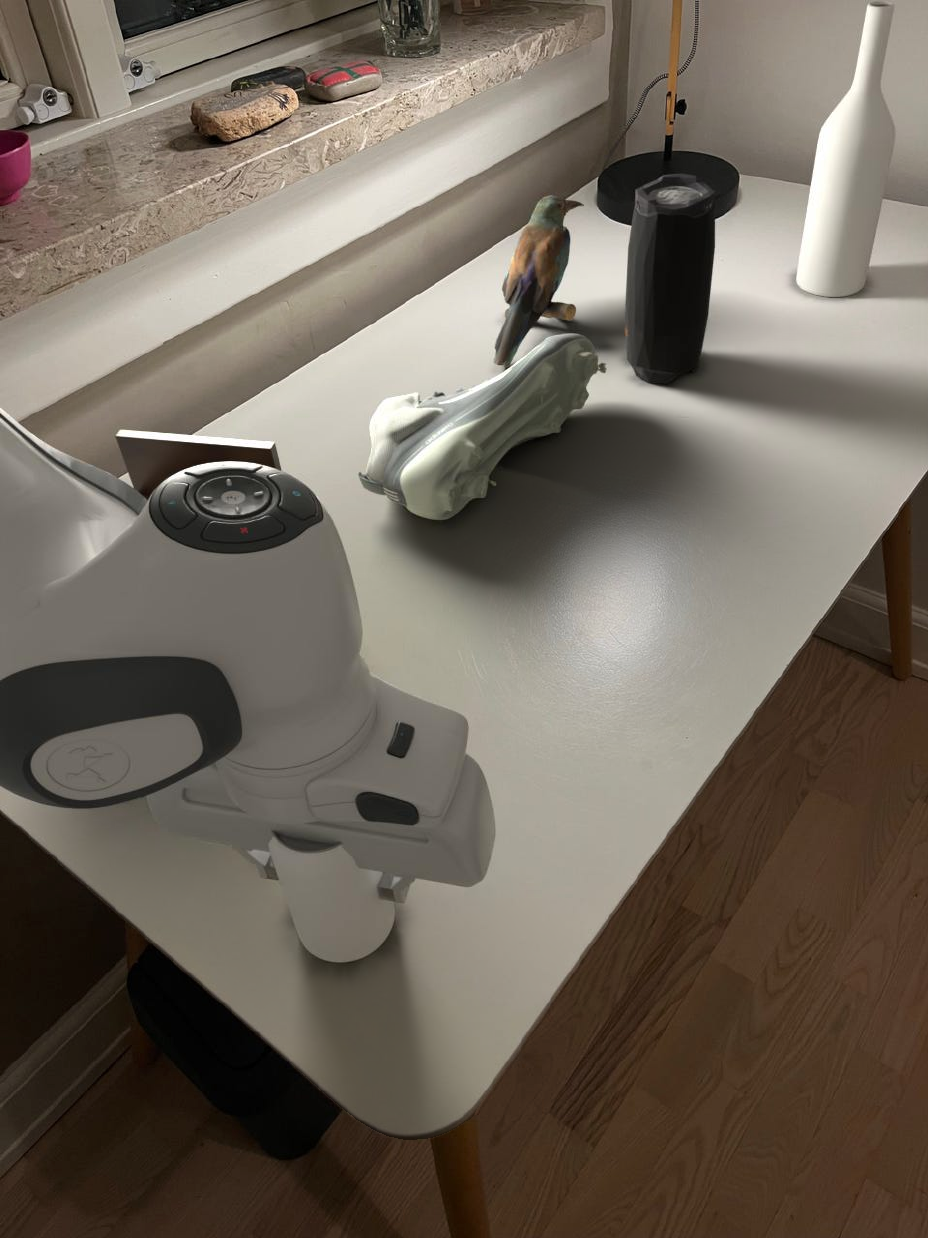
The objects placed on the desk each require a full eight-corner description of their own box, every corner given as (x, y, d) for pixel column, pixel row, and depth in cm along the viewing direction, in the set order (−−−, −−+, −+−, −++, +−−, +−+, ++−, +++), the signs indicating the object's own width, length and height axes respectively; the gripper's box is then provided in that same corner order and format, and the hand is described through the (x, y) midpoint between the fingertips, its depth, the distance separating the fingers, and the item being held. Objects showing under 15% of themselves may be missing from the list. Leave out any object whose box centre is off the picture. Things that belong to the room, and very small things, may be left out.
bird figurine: (545, 374, 113) (576, 180, 108) (464, 361, 117) (491, 173, 112) (582, 379, 125) (612, 204, 120) (508, 367, 129) (534, 197, 124)
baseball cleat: (619, 316, 103) (494, 281, 110) (443, 456, 87) (310, 405, 94) (615, 403, 110) (497, 366, 117) (451, 549, 94) (326, 495, 101)
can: (416, 915, 67) (396, 805, 59) (343, 986, 64) (311, 880, 55) (349, 859, 70) (322, 748, 62) (276, 924, 67) (237, 815, 59)
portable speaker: (616, 384, 112) (622, 204, 99) (633, 342, 118) (640, 168, 105) (696, 391, 110) (713, 209, 96) (708, 348, 116) (725, 171, 103)
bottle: (873, 274, 126) (932, -5, 106) (853, 302, 121) (912, 17, 101) (807, 262, 130) (852, -10, 109) (786, 290, 125) (829, 11, 104)
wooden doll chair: (101, 651, 87) (43, 521, 78) (165, 556, 96) (120, 429, 86) (253, 671, 84) (213, 539, 75) (305, 572, 93) (275, 441, 83)
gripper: (93, 755, 54) (162, 896, 64) (469, 816, 50) (483, 957, 60) (146, 670, 59) (204, 813, 68) (496, 719, 54) (505, 865, 64)
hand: (336, 881), depth 64 cm, fingers closed on can, 6 cm apart
